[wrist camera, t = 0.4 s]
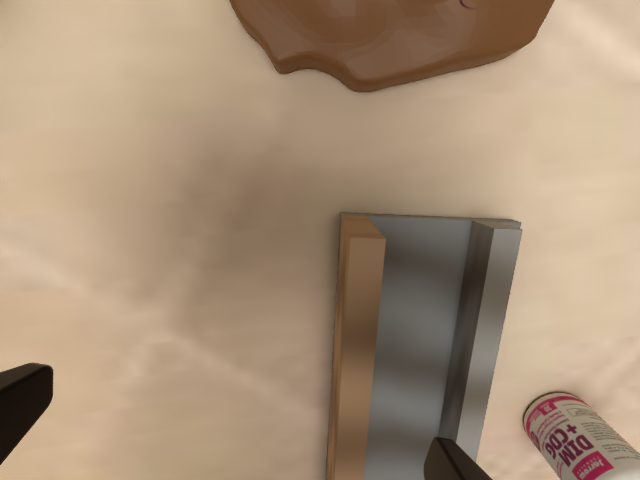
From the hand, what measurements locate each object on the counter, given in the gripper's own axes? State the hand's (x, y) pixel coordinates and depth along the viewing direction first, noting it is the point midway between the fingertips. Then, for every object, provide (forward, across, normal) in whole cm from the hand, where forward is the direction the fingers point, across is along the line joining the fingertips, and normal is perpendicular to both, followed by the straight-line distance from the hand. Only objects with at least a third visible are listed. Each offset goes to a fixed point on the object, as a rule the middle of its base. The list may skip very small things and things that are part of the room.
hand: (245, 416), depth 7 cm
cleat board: (+14, -11, +6) cm, 19 cm away
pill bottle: (+14, -22, +8) cm, 27 cm away
